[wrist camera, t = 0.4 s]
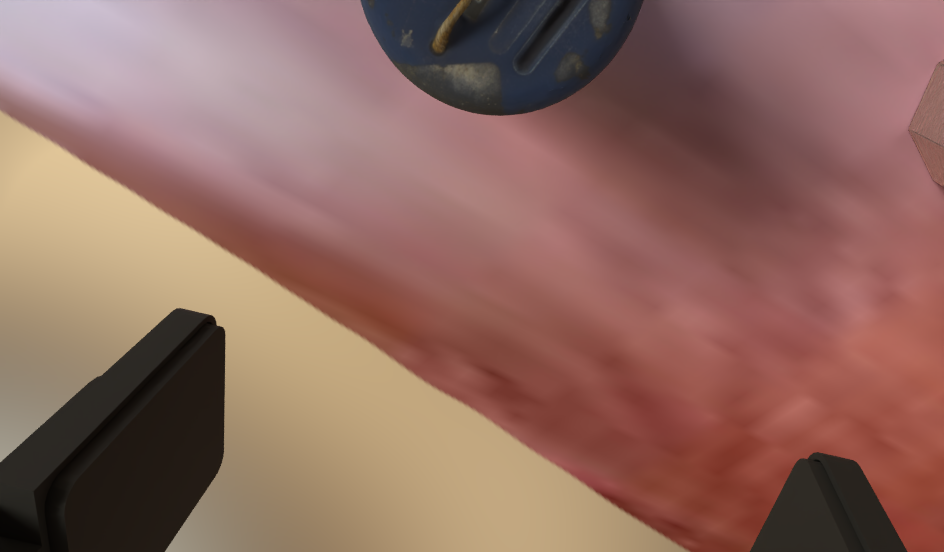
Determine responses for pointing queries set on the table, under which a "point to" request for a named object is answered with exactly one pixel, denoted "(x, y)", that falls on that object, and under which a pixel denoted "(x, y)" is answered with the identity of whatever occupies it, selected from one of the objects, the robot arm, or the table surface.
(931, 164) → the press carafe
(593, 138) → the table surface
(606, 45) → the canister
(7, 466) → the robot arm
